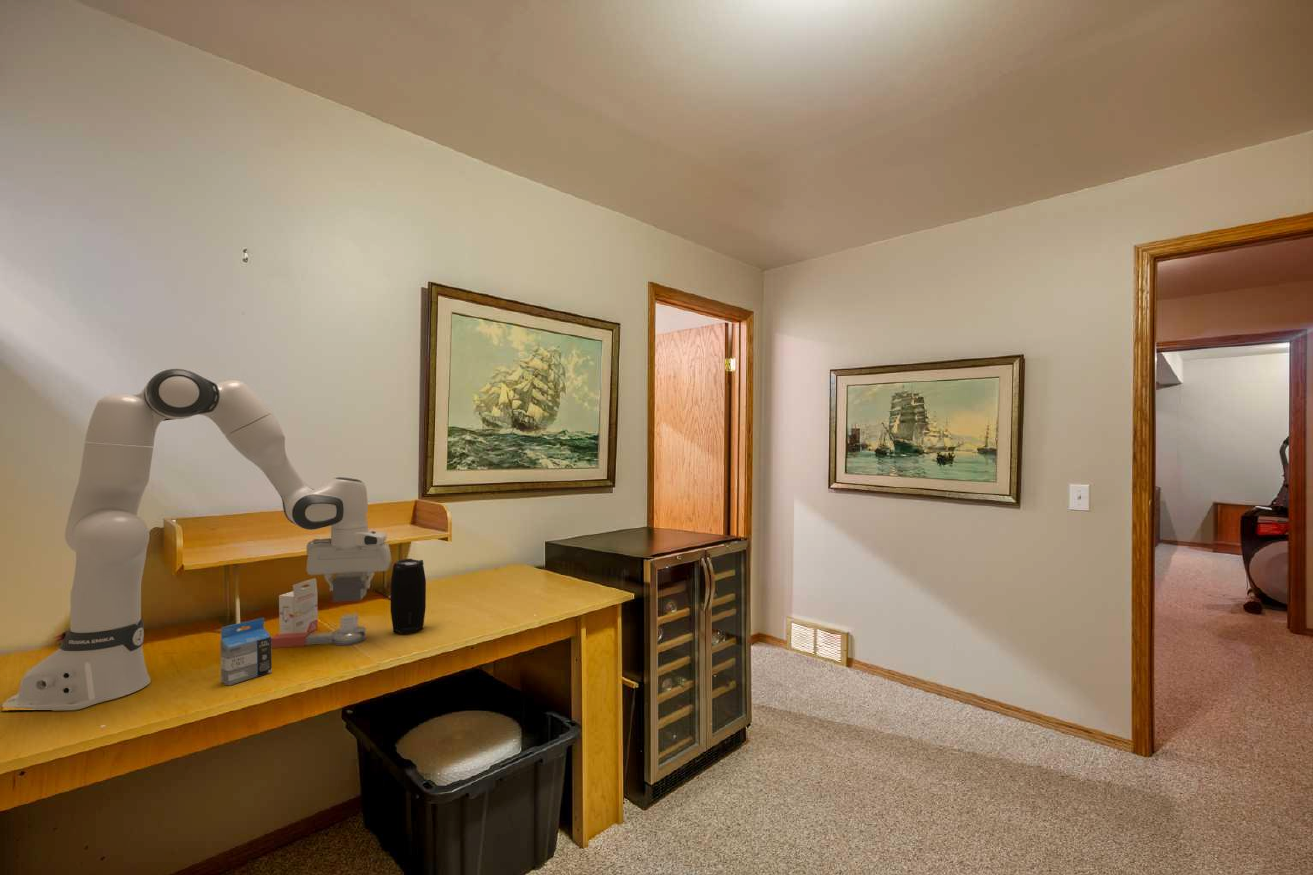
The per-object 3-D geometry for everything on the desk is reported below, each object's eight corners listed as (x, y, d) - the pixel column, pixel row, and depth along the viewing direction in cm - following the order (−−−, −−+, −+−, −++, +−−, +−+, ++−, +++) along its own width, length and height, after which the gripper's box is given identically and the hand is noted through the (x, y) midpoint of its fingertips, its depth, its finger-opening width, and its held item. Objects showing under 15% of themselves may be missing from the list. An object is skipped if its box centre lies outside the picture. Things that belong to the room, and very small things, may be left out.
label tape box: (228, 686, 128) (228, 630, 128) (219, 682, 130) (220, 627, 130) (272, 673, 135) (272, 619, 135) (263, 669, 137) (263, 616, 137)
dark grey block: (333, 601, 153) (332, 579, 153) (340, 594, 159) (339, 573, 159) (360, 600, 154) (360, 577, 154) (366, 593, 161) (366, 571, 161)
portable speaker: (396, 626, 169) (396, 558, 169) (429, 625, 170) (430, 557, 170) (385, 636, 160) (385, 564, 160) (420, 635, 161) (421, 564, 161)
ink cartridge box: (303, 628, 166) (303, 576, 166) (318, 629, 166) (318, 577, 165) (278, 638, 158) (278, 583, 158) (293, 639, 157) (293, 584, 157)
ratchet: (267, 651, 148) (267, 625, 148) (279, 640, 156) (279, 616, 156) (361, 644, 154) (361, 619, 154) (368, 634, 161) (369, 610, 161)
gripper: (302, 541, 151) (302, 594, 151) (387, 537, 156) (388, 589, 156) (310, 537, 157) (310, 588, 157) (392, 533, 162) (392, 583, 162)
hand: (350, 589), depth 157 cm, fingers closed on dark grey block, 7 cm apart
